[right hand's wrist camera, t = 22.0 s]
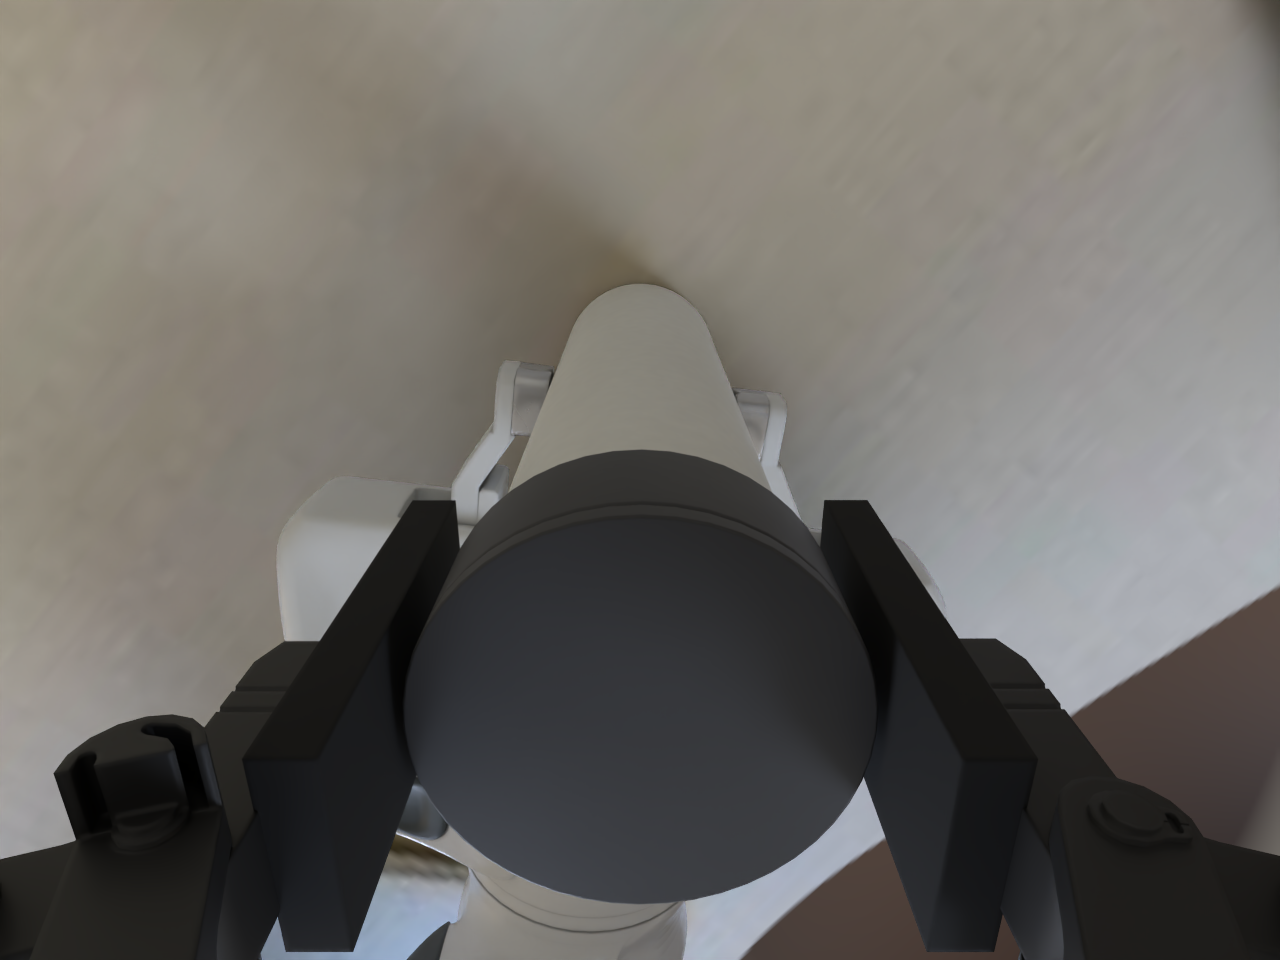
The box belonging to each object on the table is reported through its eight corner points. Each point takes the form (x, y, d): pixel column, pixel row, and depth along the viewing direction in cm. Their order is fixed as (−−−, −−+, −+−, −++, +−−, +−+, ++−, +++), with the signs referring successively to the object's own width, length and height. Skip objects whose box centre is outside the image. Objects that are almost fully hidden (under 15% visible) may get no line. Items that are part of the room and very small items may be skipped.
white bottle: (568, 278, 29) (439, 503, 10) (719, 288, 29) (863, 525, 10) (565, 423, 31) (451, 830, 12) (706, 430, 31) (807, 846, 12)
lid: (921, 602, 12) (979, 697, 10) (670, 842, 14) (676, 966, 12) (600, 361, 11) (591, 412, 9) (369, 661, 13) (313, 765, 11)
